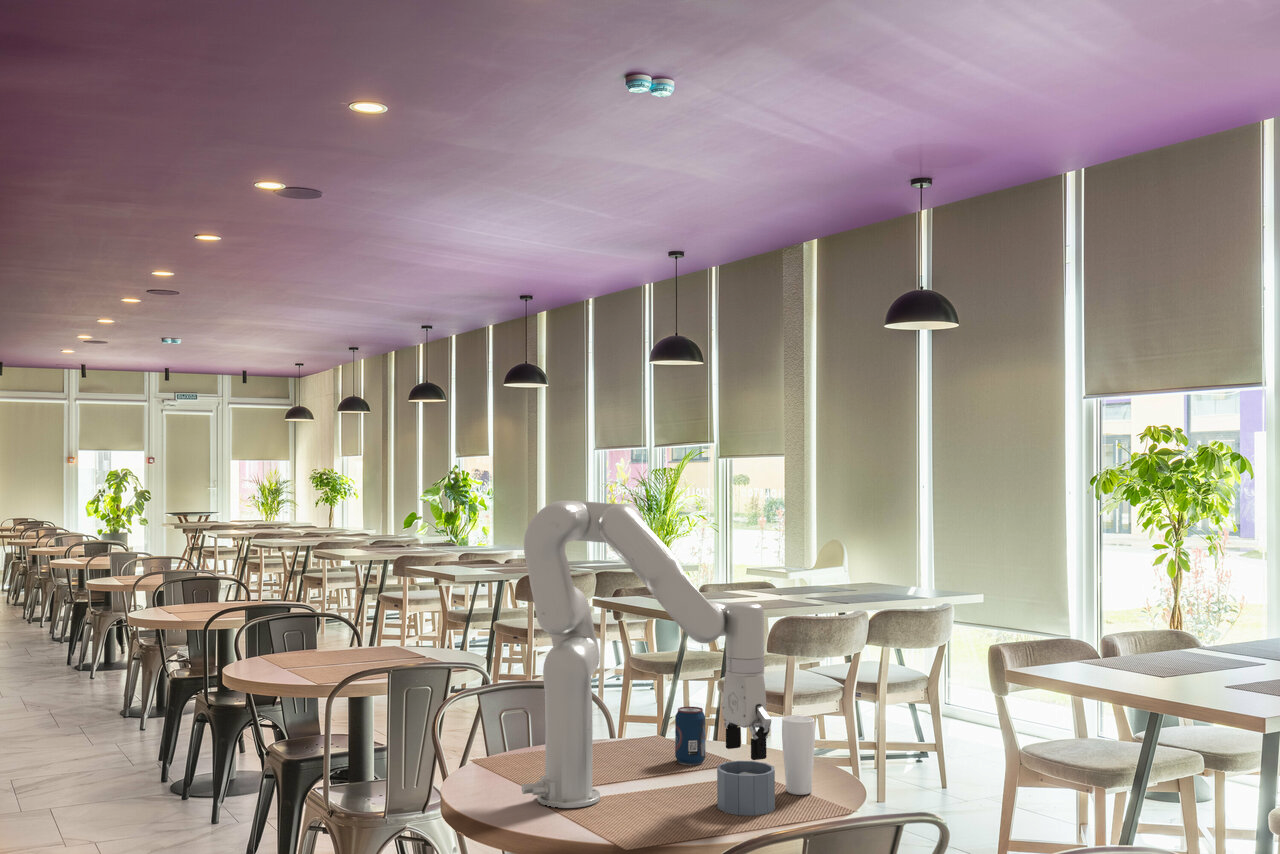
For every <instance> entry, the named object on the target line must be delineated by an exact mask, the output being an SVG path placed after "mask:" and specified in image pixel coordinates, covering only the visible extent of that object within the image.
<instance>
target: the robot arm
mask: <svg viewBox="0 0 1280 854" xmlns="http://www.w3.org/2000/svg"><path fill="white" fill-rule="evenodd" d="M573 541H577V542H580V541H581V542H591V543H593V542H594V543H605V544H607V545H608V546H609V547H610V548H611V549H612V551H613V552H614V553H615V554H616V555H617V556H618V557H619V558H620V559H621V560H622V561H623V562H624V563H625V564H626V566H628V568H629V569H630V570H631V571H632V572H633V573H634V574H635V576H637V578H638V579H639V580H640V581H641V582H642V584H644V586H645V587H646V588H647V590H648V591H649V592H650V594H651V595H652V596H653V597H654V598H655V600H657V602H658V603H659V605H661V607H662V608H663V610H664V611H665V612H666V613H667V615H669V616H670V618H671V619H672V620H673V621H674V622H675V623H676V624H677V625H678V627H680V629H681V630H682V631H683V632H684V633H685V634H686V635H687V636H688V637H689V638H690V639H691V640H693V641H695V642H697V643H700V644H711V643H712V642H715V641H716V640H718V638H719V637H723V636H724V637H725V656H726V657H725V658H726V660H725V663H726V664H725V666H726V667H725V673H724V680H723V688H722V690H723V691H722V702H721V710H722V718H723V720H724V724H723V725H724V728H725V748H726V749H727V750H731V749H732V750H733V749H740V748H741V746H742V740H741V739H742V738H741V737H742V733H741V731H742V730H741V728H746V729H747V728H749V731H750V734H751V736H752V738H750V759H751V761H759V760H765V759H767V739H768V737H769V735H768V734H769V733H770V731H771V730H770V729H771V728H770V727H771V724H772V718H771V717H770V716H769V714H768V712H767V711H768V709H767V694H766V693H767V691H766V684H765V677H764V674H765V625H764V624H765V612H764V608H763V606H762V605H761V604H759V603H756V602H749V601H747V602H744V601H739V602H738V601H737V602H732V603H731V602H723V601H718V600H717V601H716V600H709V599H707V598H706V597H705V596H704V595H703V594H702V593H701V592H700V591H699V590H698V589H697V587H696V586H695V585H694V583H692V581H691V580H690V579H689V577H688V575H686V573H685V572H684V570H683V568H682V566H681V564H680V561H679V559H678V558H677V556H676V555H675V554H674V552H673V551H672V550H671V549H670V548H669V547H668V546H667V544H665V542H664V541H662V540H661V538H659V536H658V535H657V534H656V533H655V532H654V531H653V530H652V529H651V528H650V526H649V525H648V524H647V523H646V522H645V521H644V517H643V515H642V513H641V512H640V510H638V508H636V507H635V506H634V505H631V504H627V503H609V502H606V503H605V502H597V501H584V500H571V499H570V500H566V499H565V500H556V501H554V502H551V503H549V504H547V505H545V506H544V507H543V508H542V509H540V510H539V511H538V512H537V513H536V514H535V515H534V516H533V517H532V519H531V520H530V522H529V524H528V525H527V527H526V530H525V534H524V538H523V552H524V553H523V554H524V558H525V559H524V560H525V564H526V569H527V575H528V579H529V585H530V591H531V594H532V599H533V603H534V612H535V615H536V619H537V623H538V625H539V627H540V628H541V629H542V630H543V631H544V632H545V633H547V634H549V635H550V637H551V638H550V639H551V643H552V648H550V650H549V651H548V653H547V654H546V657H545V659H544V663H543V670H542V673H543V676H542V677H543V678H542V679H543V686H544V687H543V689H544V706H545V709H544V712H545V713H544V714H545V716H544V719H545V721H544V722H545V751H544V752H545V753H544V754H545V755H544V756H545V759H544V761H545V767H544V771H545V772H544V775H541V776H540V780H537V781H536V782H533V783H532V782H528V783H527V782H526V783H522V784H521V792H522V795H528V794H532V796H536V797H537V802H538V803H539V802H540V803H539V804H541V805H543V806H545V805H547V806H546V807H549V806H551V807H550V808H555V807H558V808H557V809H578V808H584V807H585V808H586V807H589V806H592V805H594V804H596V803H598V802H599V801H600V800H601V793H600V790H598V789H596V788H593V735H594V734H593V731H594V730H593V725H594V724H593V693H592V676H593V675H594V674H595V672H596V671H597V669H598V667H599V664H600V655H601V654H600V650H599V643H598V639H597V635H596V629H595V627H594V626H595V625H594V622H593V617H592V612H591V608H590V604H589V601H588V599H587V596H586V595H585V594H584V592H583V591H582V590H581V589H579V588H577V587H576V586H574V582H573V579H572V573H571V569H570V568H571V567H570V565H569V564H570V563H569V560H568V558H567V554H566V545H567V543H569V542H573ZM756 728H758V729H756Z"/></svg>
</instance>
